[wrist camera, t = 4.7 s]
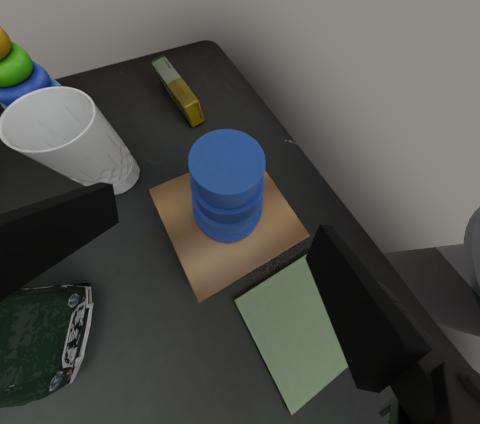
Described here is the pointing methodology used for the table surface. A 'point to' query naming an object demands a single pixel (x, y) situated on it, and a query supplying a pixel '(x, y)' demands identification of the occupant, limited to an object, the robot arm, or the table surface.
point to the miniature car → (41, 340)
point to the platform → (217, 253)
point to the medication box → (178, 91)
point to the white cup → (69, 137)
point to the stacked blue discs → (227, 184)
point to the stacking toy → (19, 72)
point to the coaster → (293, 333)
